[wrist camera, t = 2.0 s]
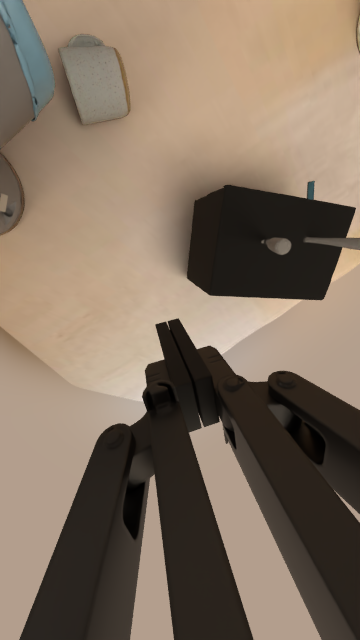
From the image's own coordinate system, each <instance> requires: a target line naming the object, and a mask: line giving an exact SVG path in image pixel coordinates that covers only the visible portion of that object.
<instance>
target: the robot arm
mask: <svg viewBox="0 0 360 640" xmlns="http://www.w3.org/2000/svg"><path fill="white" fill-rule="evenodd" d="M54 88H55V79H54V74H53V70H52V67H51V64H50V61H49V58H48V56H47V53H46V50H45V48H44V46H43V43H42V41H41V39H40V36H39V34H38V32H37V30H36V28H35V26H34V23H33V21H32V19H31V17H30V15H29V13H28V11H27V9H26V7H25V5H24V3H23V1H22V0H0V149H1V148H2V147H3V146H4V145H5V144H6V143H7V142H8V141H10V140H11V139H12V138H13V137H14V136H15V135H16V134H17V133H18V132H19V131H20V130H21V129H22V128H24V127H25V126H26V125H27V124H28V123H29V122H30V121H35V120H36V119H37V117H38V113H39V112H40V111H41V110H42V109H43V108H44V107H45V105H46V104H47V103H48V102H49V101H50V100H51V99H52V97H53V95H54ZM23 210H24V193H23V188H22V185H21V182H20V180H19V178H18V176H17V174H16V172H15V170H14V169H13V167H12V166H11V164H10V163H9V162H8V161H7V159H6V158H5V157H4V156H3V155H2V154H1V153H0V235H3V234H5V233H7V232H9V231H10V230H12V229H13V228H14V227H15V226H16V225H17V224H18V222H19V221H20V219H21V217H22V214H23ZM168 324H169V327H168V325H167V323H166V322H163V323H159V324H156V329H157V333H158V336H159V340H160V344H161V348H162V351H163V355H164V359H165V360H161V361H158V362H154V363H151V364H148V366H147V368H146V370H145V375H146V383H147V387H146V389H145V390H144V392H143V395H142V398H143V401H144V404H145V406H146V409H147V412H146V414H145V415H144V416H143V417H142V418H141V419H140V420H139V421H137V422H136V423H134V424H133V425H131V426H130V427H129V426H128V425H126V424H115V425H112V426H111V427H109V428H107V429H106V430H105V431H104V432H103V433H102V434H101V435H100V437H99V438H98V440H97V442H96V445H95V447H94V450H93V452H92V455H91V457H90V460H89V462H88V465H87V468H86V470H85V473H84V475H83V478H82V480H81V483H80V485H79V488H78V491H77V493H76V496H75V498H74V501H73V503H72V506H71V509H70V512H69V514H68V517H67V519H66V521H65V524H64V527H63V529H62V532H61V534H60V537H59V539H58V542H57V545H56V547H55V550H54V552H53V555H52V557H51V560H50V562H49V565H48V568H47V570H46V573H45V575H44V578H43V581H42V583H41V586H40V588H39V591H38V593H37V596H36V598H35V601H34V604H33V606H32V609H31V611H30V614H29V617H28V619H27V621H26V624H25V627H24V629H23V632H22V634H21V637H20V639H19V640H130V634H131V626H132V618H133V610H134V602H135V594H136V586H137V578H138V569H139V562H140V554H141V546H142V538H143V530H144V522H145V514H146V505H147V498H148V489H149V481H150V477H152V476H153V475H154V474H155V480H156V488H157V497H158V506H159V514H160V523H161V530H162V540H163V548H164V557H165V565H166V574H167V583H168V591H169V600H170V608H171V617H172V625H173V634H174V640H253V637H252V633H251V630H250V627H249V624H248V620H247V618H246V614H245V611H244V608H243V605H242V602H241V598H240V595H239V592H238V589H237V585H236V582H235V579H234V576H233V573H232V570H231V566H230V563H229V560H228V557H227V554H226V550H225V547H224V544H223V541H222V538H221V534H220V531H219V528H218V525H217V521H216V518H215V515H214V512H213V509H212V505H211V503H210V500H209V496H208V493H207V490H206V486H205V483H204V480H203V477H202V474H201V470H200V467H199V464H198V461H197V458H196V454H195V451H194V448H193V445H192V442H191V439H190V435H189V432H192V431H194V430H197V429H200V428H201V423H200V418H201V420H202V423H203V425H204V427H206V426H209V425H212V424H215V423H218V422H219V417H220V419H221V421H222V423H223V430H224V436H225V441H226V444H227V443H228V441H229V443H230V445H231V448H232V450H233V452H234V454H235V456H236V458H237V460H238V462H239V465H240V467H241V469H242V471H243V473H244V475H245V477H246V479H247V482H248V484H249V486H250V488H251V490H252V492H253V494H254V496H255V499H256V501H257V503H258V505H259V507H260V509H261V511H262V514H263V516H264V518H265V520H266V522H267V524H268V526H269V529H270V530H271V533H272V535H273V537H274V539H275V541H276V543H277V546H278V548H279V550H280V552H281V554H282V556H283V558H284V560H285V563H286V564H287V567H288V569H289V571H290V573H291V575H292V578H293V580H294V581H295V584H296V586H297V588H298V590H299V592H300V595H301V597H302V599H303V601H304V603H305V605H306V607H307V609H308V612H309V614H310V616H311V618H312V620H313V622H314V624H315V626H316V629H317V631H318V633H319V635H320V637H321V639H322V640H360V523H359V522H358V520H357V519H356V518H355V516H354V515H353V514H352V513H351V511H350V510H349V509H348V508H347V506H346V505H345V504H344V503H343V501H342V500H341V499H340V498H339V496H338V495H337V494H336V492H337V493H338V494H339V495H340V496H341V497H342V498H343V499H344V500H345V501H346V502H347V503H348V504H350V505H351V506H352V507H353V508H354V509H355V510H356V511H357V512H358V513H359V514H360V410H358V409H356V408H355V407H353V406H351V405H350V404H348V403H346V402H344V401H342V400H341V399H339V398H337V397H336V396H333V395H332V394H330V393H329V392H327V391H325V390H323V389H322V388H320V387H318V386H316V385H315V384H313V383H311V382H309V381H307V380H306V379H304V378H302V377H300V376H299V375H297V374H295V373H292V372H288V371H277V372H274V373H272V374H271V375H270V376H269V377H268V381H267V382H248V381H247V380H246V379H244V378H243V377H241V376H239V375H236V374H235V373H234V372H233V370H232V369H231V368H230V366H229V365H228V364H227V362H226V361H225V360H224V359H223V357H222V356H221V355H220V353H219V352H218V351H217V349H215V348H213V347H211V346H207V347H203V348H200V349H196V347H195V346H194V344H193V342H192V341H191V339H190V337H189V336H188V334H187V332H186V330H185V329H184V327H183V325H182V324H181V322H180V320H179V319H174V320H170V321H168ZM169 328H170V330H169ZM198 413H199V414H198ZM199 415H200V418H199ZM334 490H335V491H336V492H335V491H334Z"/></svg>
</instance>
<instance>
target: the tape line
mask: <svg viewBox="0 0 360 640" xmlns="http://www.w3.org/2000/svg"><path fill="white" fill-rule="evenodd" d="M314 182H315V181H312V182H308V194H307V199H311V200H313V199H314Z"/></svg>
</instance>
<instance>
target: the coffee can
mask: <svg viewBox="0 0 360 640" xmlns="http://www.w3.org/2000/svg"><path fill="white" fill-rule="evenodd" d="M357 43H358V48H359V51H360V17H359V21H358V26H357Z"/></svg>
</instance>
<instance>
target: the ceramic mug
mask: <svg viewBox="0 0 360 640" xmlns="http://www.w3.org/2000/svg"><path fill="white" fill-rule="evenodd" d="M59 53H60V56H61V59H62V63H63V66H64V69H65V72H66V75H67V78H68V81H69V84H70V87H71V91H72V94H73V97H74V100H75V103H76V106H77V109H78V112H79V115H80V118H81V122H82V124H83V125H88V124H93V123H98V122H103V121H108V120H113V119H119V118H122V117H124V116H126V115H128V114H129V112H130V95H129V88H128V83H127V78H126V73H125V69H124V65H123V62H122V58H121V56H120V54H119V52H118V51H117V50H116V49H115V48H113V47H109V46H105V45H104V43H103V42H102V41H101V40H100V39H98V38H97V37H95V36H92V35H88V34H80V35H76V36H74V37H73V38H72V39H71V40H70V41H69V44H68V47H64V48H59Z"/></svg>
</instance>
